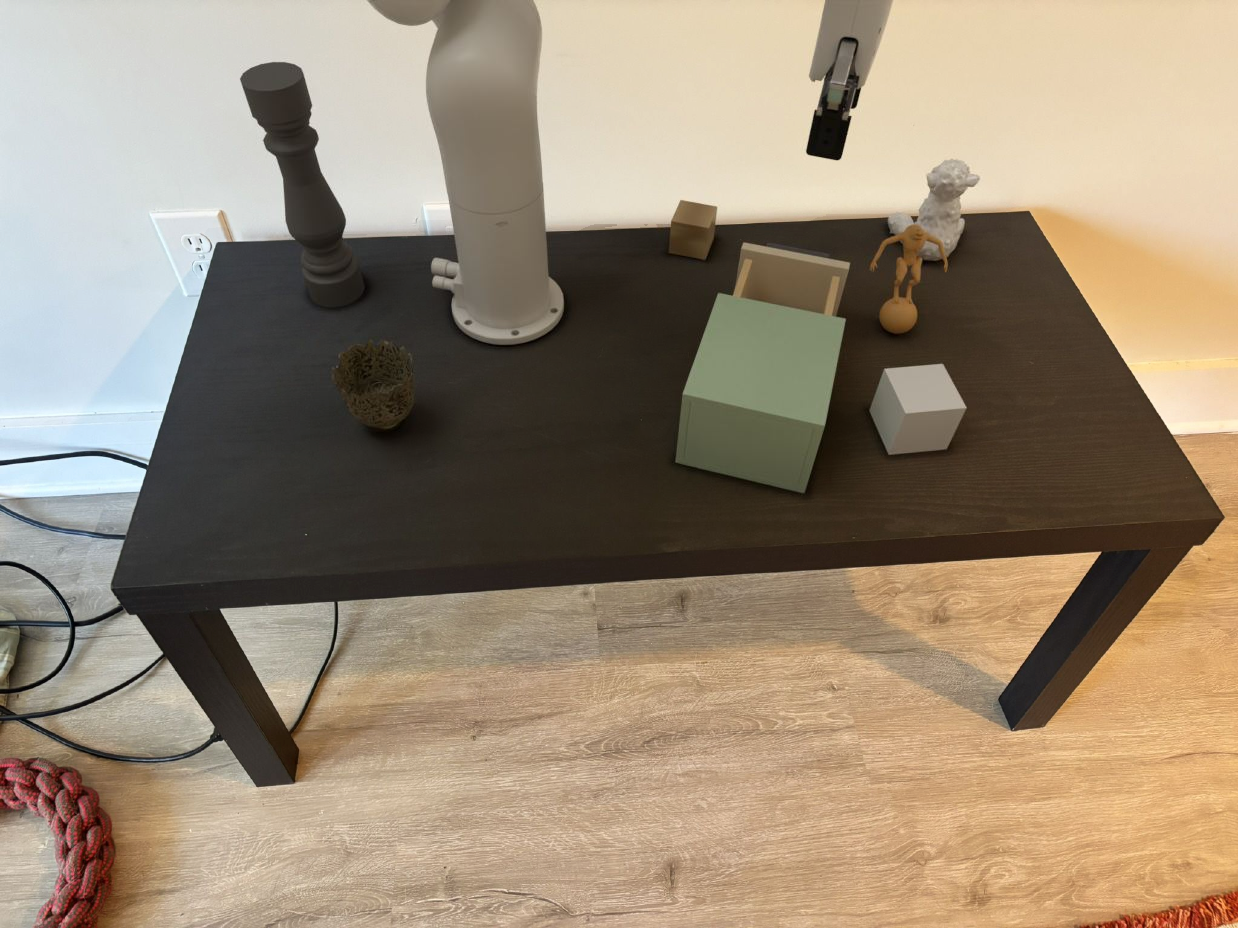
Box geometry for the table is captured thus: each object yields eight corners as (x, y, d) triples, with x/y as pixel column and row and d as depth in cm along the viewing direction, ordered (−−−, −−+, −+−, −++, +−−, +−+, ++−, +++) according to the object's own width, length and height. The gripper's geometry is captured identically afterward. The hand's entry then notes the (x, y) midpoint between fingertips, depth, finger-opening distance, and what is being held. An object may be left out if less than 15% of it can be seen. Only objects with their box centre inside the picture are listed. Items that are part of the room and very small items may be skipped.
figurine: (860, 341, 94) (888, 251, 84) (850, 305, 97) (876, 215, 88) (934, 341, 94) (971, 251, 84) (921, 306, 98) (955, 216, 88)
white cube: (924, 405, 87) (943, 363, 83) (946, 449, 84) (967, 407, 79) (868, 410, 87) (884, 368, 82) (888, 455, 83) (905, 413, 78)
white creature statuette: (960, 228, 107) (994, 140, 98) (972, 270, 102) (1009, 182, 93) (885, 223, 108) (912, 135, 98) (893, 265, 102) (922, 176, 93)
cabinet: (708, 363, 91) (718, 292, 83) (825, 388, 89) (846, 318, 81) (675, 462, 82) (682, 393, 75) (804, 493, 80) (825, 425, 72)
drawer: (742, 276, 99) (751, 219, 93) (839, 295, 97) (855, 238, 91) (708, 379, 88) (715, 322, 82) (817, 403, 86) (833, 346, 80)
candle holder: (375, 285, 98) (320, 72, 79) (337, 314, 95) (270, 99, 76) (336, 267, 100) (273, 54, 81) (298, 295, 97) (222, 80, 78)
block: (668, 253, 103) (670, 220, 100) (677, 231, 106) (680, 199, 102) (705, 260, 102) (709, 228, 99) (713, 238, 105) (717, 206, 102)
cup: (410, 457, 82) (394, 400, 76) (338, 445, 83) (317, 387, 77) (436, 402, 86) (423, 344, 80) (368, 391, 87) (350, 333, 81)
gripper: (847, -117, 72) (808, 81, 85) (812, -43, 61) (774, 170, 75) (937, -105, 71) (883, 94, 84) (917, -28, 60) (859, 186, 73)
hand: (831, 130), depth 79 cm, fingers open, 9 cm apart
